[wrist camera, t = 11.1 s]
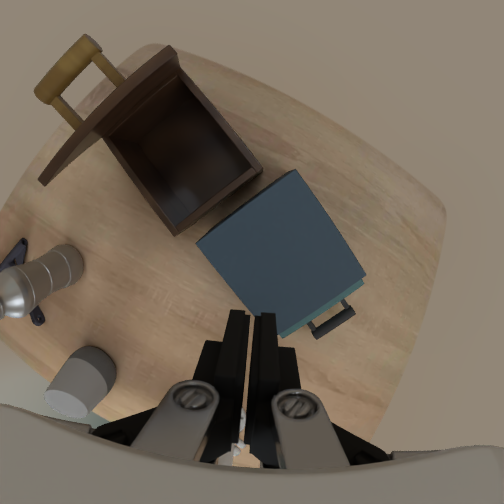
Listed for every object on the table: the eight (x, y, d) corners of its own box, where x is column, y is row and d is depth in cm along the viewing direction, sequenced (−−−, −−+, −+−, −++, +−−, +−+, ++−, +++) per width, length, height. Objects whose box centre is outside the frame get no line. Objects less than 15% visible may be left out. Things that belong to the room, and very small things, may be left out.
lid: (177, 53, 13) (117, -10, 9) (44, 187, 15) (-8, 130, 11) (180, 67, 25) (147, 30, 22) (100, 138, 27) (68, 103, 24)
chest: (263, 171, 36) (263, 168, 28) (193, 224, 38) (174, 237, 30) (196, 88, 34) (179, 66, 25) (132, 143, 36) (100, 136, 27)
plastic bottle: (67, 232, 39) (-26, 268, 20) (94, 260, 40) (6, 312, 21) (53, 261, 41) (-31, 305, 21) (79, 288, 42) (-1, 345, 22)
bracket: (30, 332, 45) (23, 338, 42) (-4, 271, 42) (-12, 275, 39) (64, 307, 43) (55, 314, 40) (25, 236, 40) (15, 240, 37)
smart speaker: (104, 388, 47) (72, 434, 33) (71, 354, 45) (32, 395, 32) (130, 370, 45) (97, 422, 31) (94, 332, 43) (50, 377, 30)
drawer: (362, 288, 39) (380, 309, 32) (296, 332, 41) (301, 361, 34) (295, 188, 36) (303, 190, 29) (223, 241, 38) (214, 255, 31)
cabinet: (345, 254, 39) (366, 275, 30) (270, 305, 41) (272, 338, 32) (287, 171, 36) (295, 168, 27) (210, 228, 38) (195, 243, 30)
